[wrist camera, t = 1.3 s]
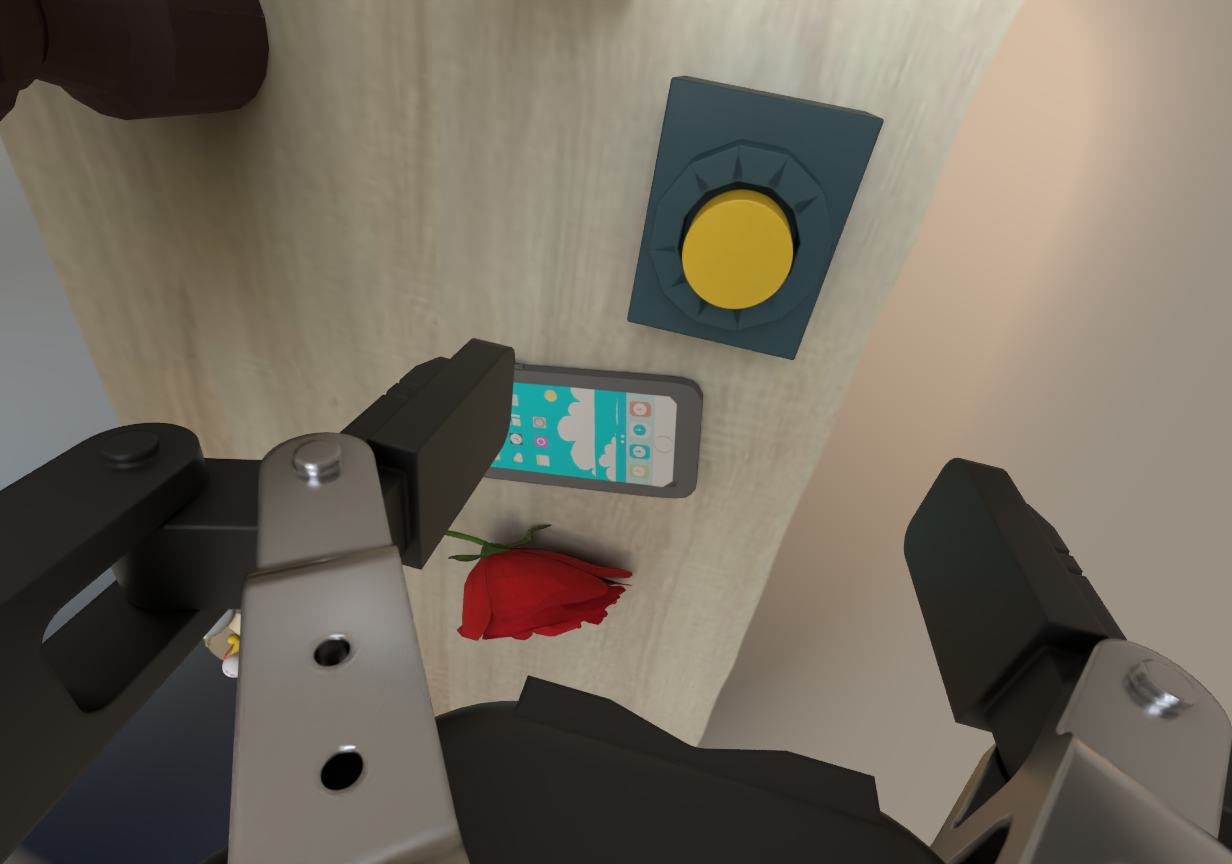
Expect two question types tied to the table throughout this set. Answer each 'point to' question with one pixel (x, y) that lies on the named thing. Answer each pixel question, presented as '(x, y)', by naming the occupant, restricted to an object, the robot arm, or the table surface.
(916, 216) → the table surface
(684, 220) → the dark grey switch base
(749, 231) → the button
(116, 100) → the lantern
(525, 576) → the flower
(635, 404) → the smartphone
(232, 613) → the toy airplane
